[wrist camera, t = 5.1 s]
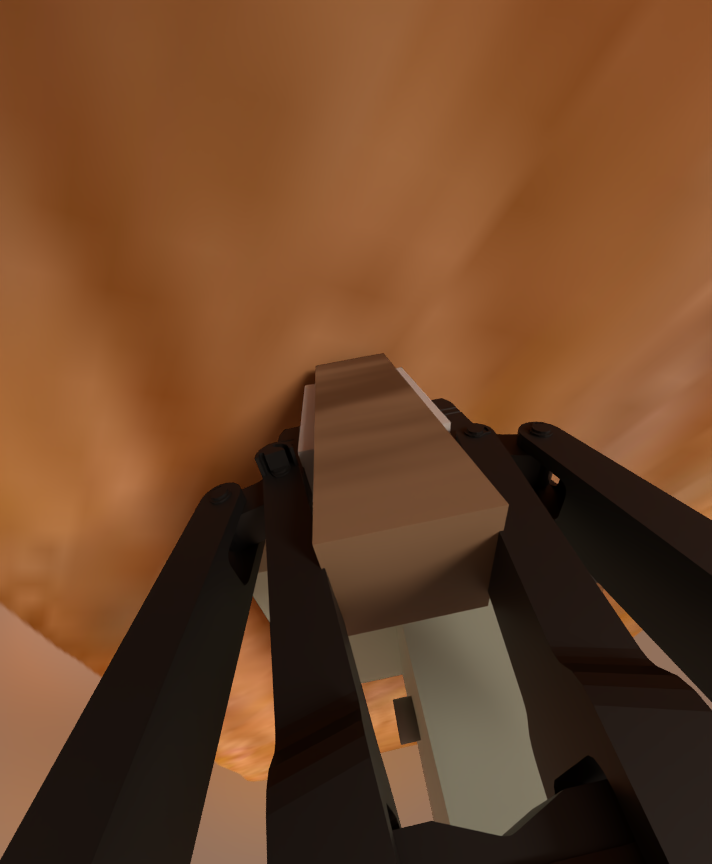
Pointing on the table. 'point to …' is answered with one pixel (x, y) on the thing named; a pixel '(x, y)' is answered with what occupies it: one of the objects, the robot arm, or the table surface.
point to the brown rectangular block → (396, 502)
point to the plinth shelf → (455, 712)
